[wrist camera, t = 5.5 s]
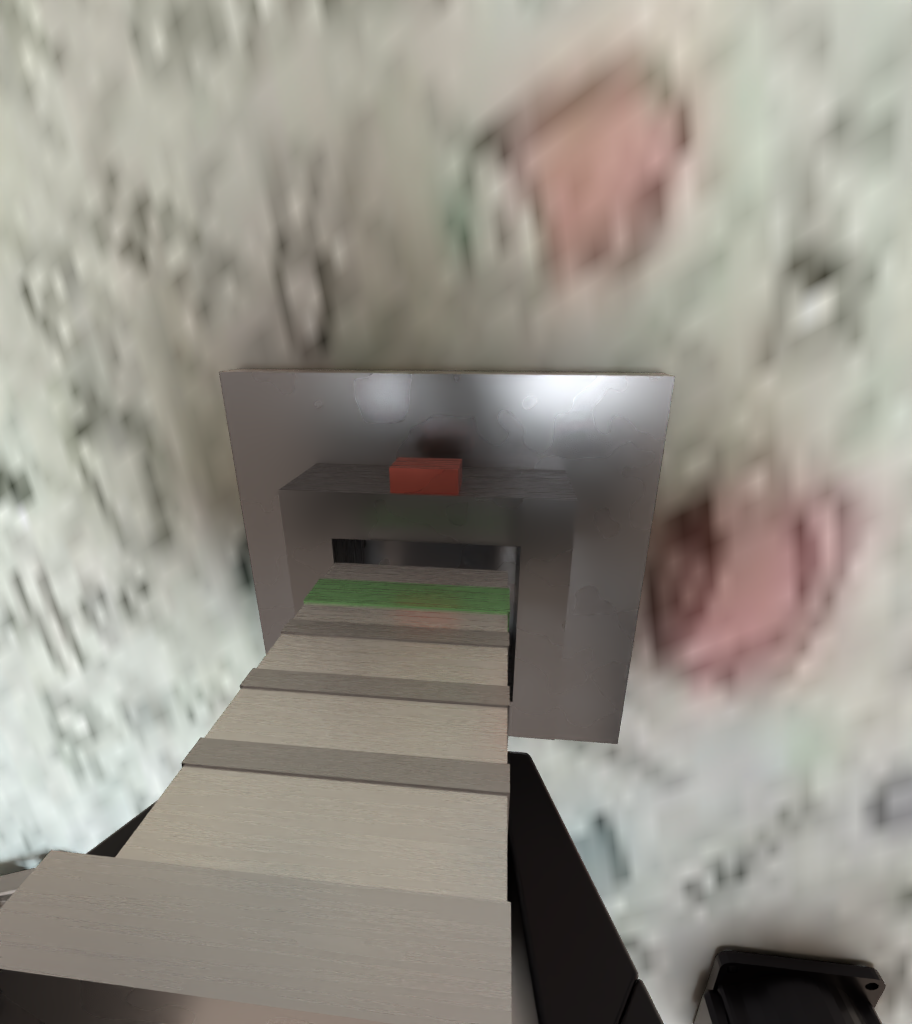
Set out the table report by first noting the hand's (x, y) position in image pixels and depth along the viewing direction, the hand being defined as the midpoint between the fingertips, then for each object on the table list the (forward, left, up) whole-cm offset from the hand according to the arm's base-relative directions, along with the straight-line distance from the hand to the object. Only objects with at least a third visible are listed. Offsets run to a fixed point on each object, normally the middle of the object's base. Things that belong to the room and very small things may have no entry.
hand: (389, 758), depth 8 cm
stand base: (0, 0, -8) cm, 8 cm away
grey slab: (0, 0, -4) cm, 4 cm away
